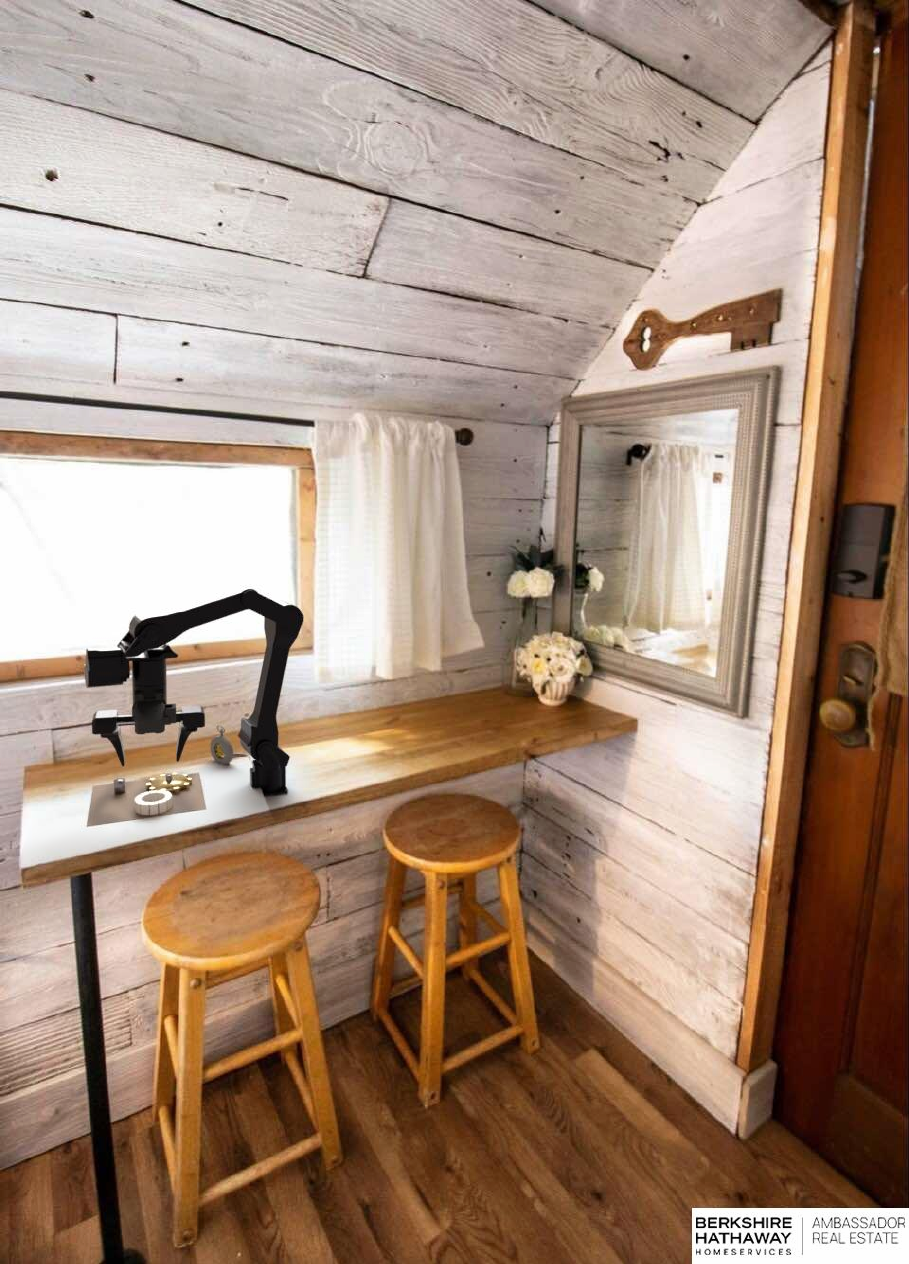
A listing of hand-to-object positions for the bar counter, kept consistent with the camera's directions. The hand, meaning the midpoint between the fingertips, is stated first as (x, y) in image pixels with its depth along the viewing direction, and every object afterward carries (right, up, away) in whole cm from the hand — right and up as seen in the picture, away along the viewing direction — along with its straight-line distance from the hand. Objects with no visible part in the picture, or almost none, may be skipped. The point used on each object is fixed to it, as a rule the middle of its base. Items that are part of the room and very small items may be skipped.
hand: (150, 763), depth 127 cm
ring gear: (0, -9, +2) cm, 9 cm away
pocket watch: (+6, -6, +26) cm, 28 cm away
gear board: (-3, -9, +6) cm, 11 cm away
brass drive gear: (-1, -7, +11) cm, 13 cm away
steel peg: (-9, -7, +7) cm, 14 cm away
